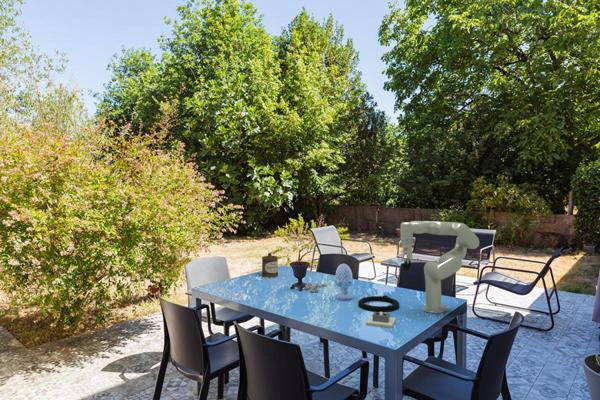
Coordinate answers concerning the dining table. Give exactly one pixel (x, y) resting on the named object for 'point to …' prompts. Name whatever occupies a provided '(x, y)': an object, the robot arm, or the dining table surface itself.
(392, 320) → the keeper board
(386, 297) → the cable lock
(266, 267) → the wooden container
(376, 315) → the grey rectangular frame
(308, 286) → the pulley system
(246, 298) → the dining table surface
